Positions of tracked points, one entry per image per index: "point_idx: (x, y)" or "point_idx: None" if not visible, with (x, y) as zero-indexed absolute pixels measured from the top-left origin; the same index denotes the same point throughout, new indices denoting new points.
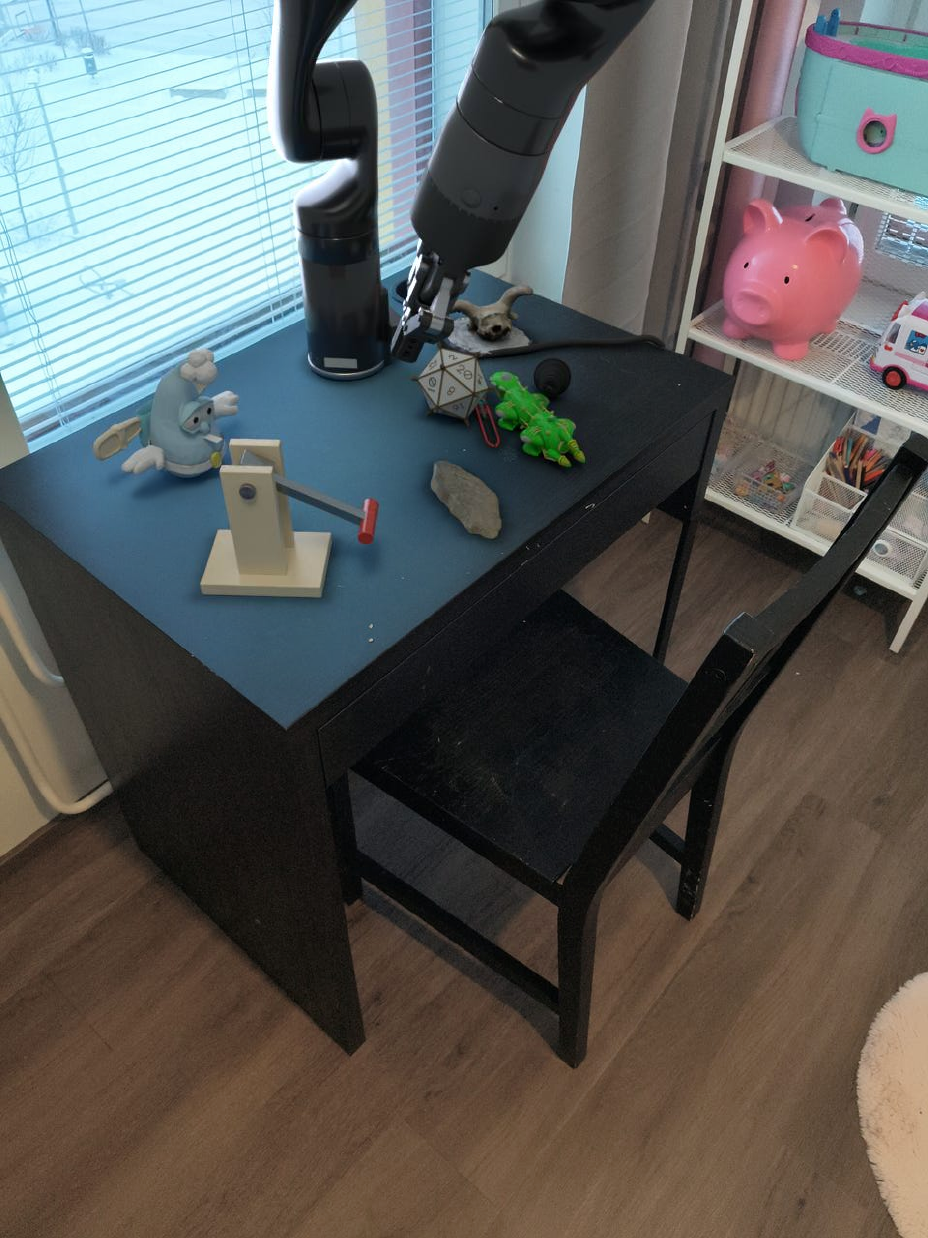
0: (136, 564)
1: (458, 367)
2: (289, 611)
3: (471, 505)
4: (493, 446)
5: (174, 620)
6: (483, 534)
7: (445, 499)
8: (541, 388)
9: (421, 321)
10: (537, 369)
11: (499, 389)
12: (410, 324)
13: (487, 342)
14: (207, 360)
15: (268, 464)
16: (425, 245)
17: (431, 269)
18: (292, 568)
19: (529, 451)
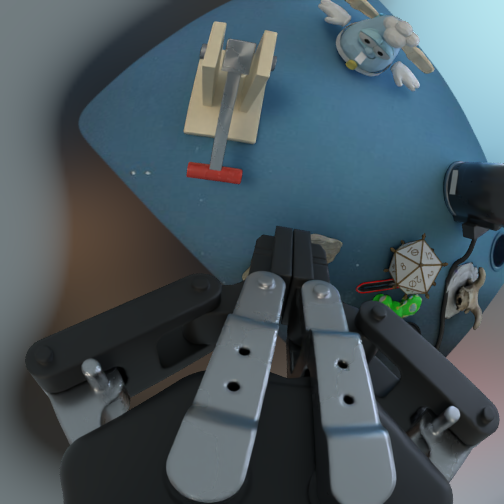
0: (245, 14)
1: (419, 277)
2: (172, 110)
3: None
4: (356, 288)
5: (178, 38)
6: (246, 270)
7: None
8: None
9: (28, 356)
10: (416, 328)
11: (404, 301)
12: (158, 307)
13: (455, 290)
14: (405, 38)
15: (240, 67)
16: (323, 491)
17: (152, 484)
18: (211, 110)
19: None
